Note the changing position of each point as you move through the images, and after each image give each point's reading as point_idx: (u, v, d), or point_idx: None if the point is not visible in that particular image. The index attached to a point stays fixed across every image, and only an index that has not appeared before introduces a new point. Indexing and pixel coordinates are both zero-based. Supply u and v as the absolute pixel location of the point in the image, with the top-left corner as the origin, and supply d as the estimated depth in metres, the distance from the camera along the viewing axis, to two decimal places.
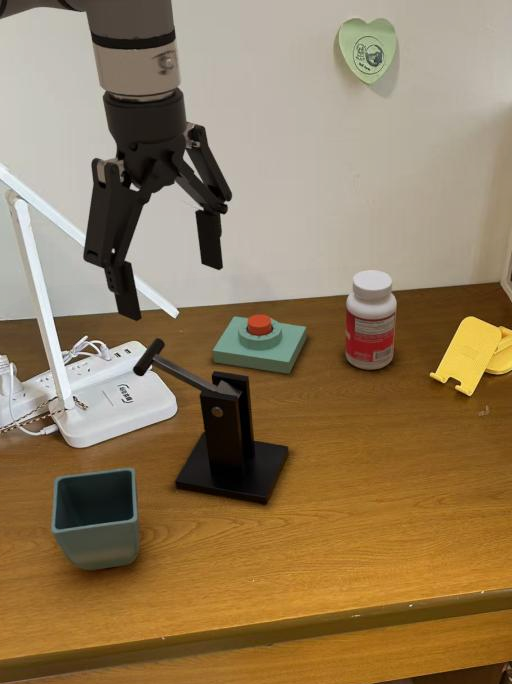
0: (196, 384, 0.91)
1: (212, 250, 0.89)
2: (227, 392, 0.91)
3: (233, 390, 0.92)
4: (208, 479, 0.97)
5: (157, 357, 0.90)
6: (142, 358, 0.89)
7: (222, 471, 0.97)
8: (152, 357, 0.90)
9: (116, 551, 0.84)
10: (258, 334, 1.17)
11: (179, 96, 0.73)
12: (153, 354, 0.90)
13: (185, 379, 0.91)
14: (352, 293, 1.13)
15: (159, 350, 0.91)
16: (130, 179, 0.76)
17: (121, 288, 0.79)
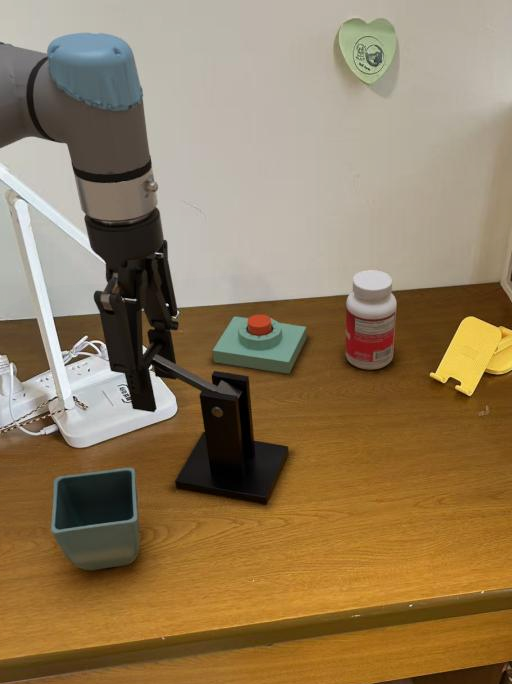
0: (196, 384, 0.91)
1: None
2: (227, 392, 0.91)
3: (233, 390, 0.92)
4: (208, 479, 0.97)
5: (157, 357, 0.90)
6: None
7: (222, 471, 0.97)
8: (152, 357, 0.90)
9: (116, 551, 0.84)
10: (258, 334, 1.17)
11: (157, 211, 0.79)
12: (153, 354, 0.90)
13: (185, 379, 0.91)
14: (352, 293, 1.13)
15: (159, 350, 0.91)
16: None
17: (141, 387, 0.88)
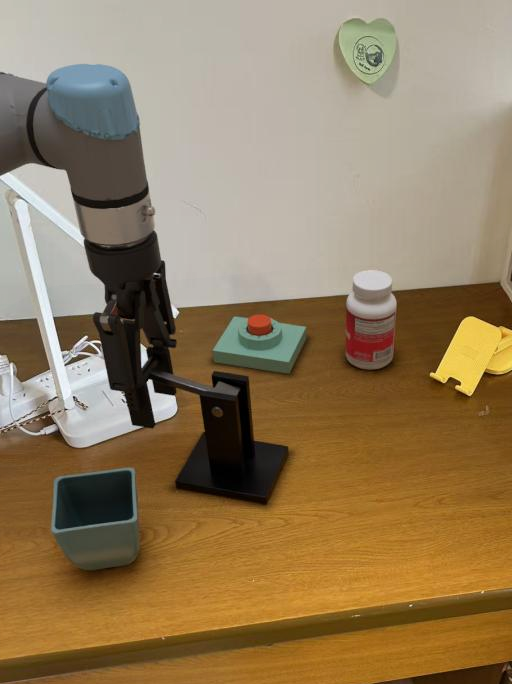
0: (194, 389, 0.92)
1: None
2: (225, 391, 0.91)
3: (231, 388, 0.92)
4: (208, 479, 0.97)
5: (153, 370, 0.92)
6: None
7: (222, 471, 0.97)
8: (148, 371, 0.92)
9: (116, 551, 0.84)
10: (258, 334, 1.17)
11: (154, 234, 0.81)
12: (149, 368, 0.92)
13: (183, 387, 0.92)
14: (352, 293, 1.13)
15: (155, 364, 0.93)
16: None
17: (140, 404, 0.90)
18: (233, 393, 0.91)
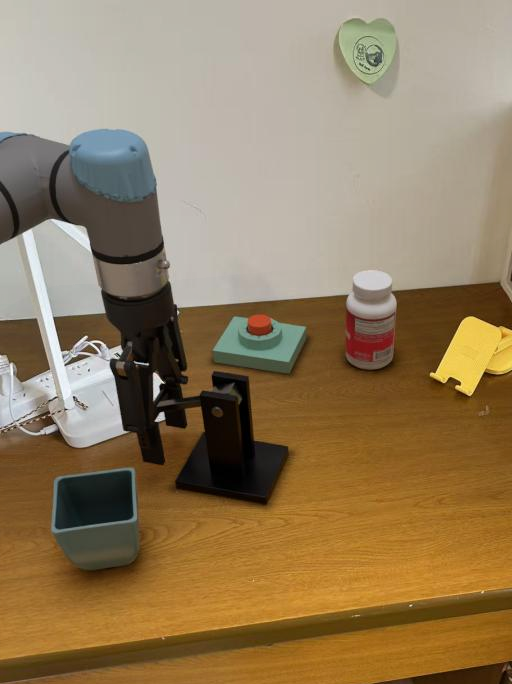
0: (197, 403, 0.93)
1: (178, 414, 1.00)
2: (220, 391, 0.91)
3: (225, 386, 0.92)
4: (208, 479, 0.97)
5: (160, 403, 0.95)
6: None
7: (222, 471, 0.97)
8: (155, 405, 0.95)
9: (116, 551, 0.84)
10: (258, 334, 1.17)
11: (169, 284, 0.85)
12: (156, 403, 0.95)
13: (188, 405, 0.94)
14: (352, 293, 1.13)
15: (163, 397, 0.96)
16: None
17: (151, 443, 0.94)
18: (227, 389, 0.91)
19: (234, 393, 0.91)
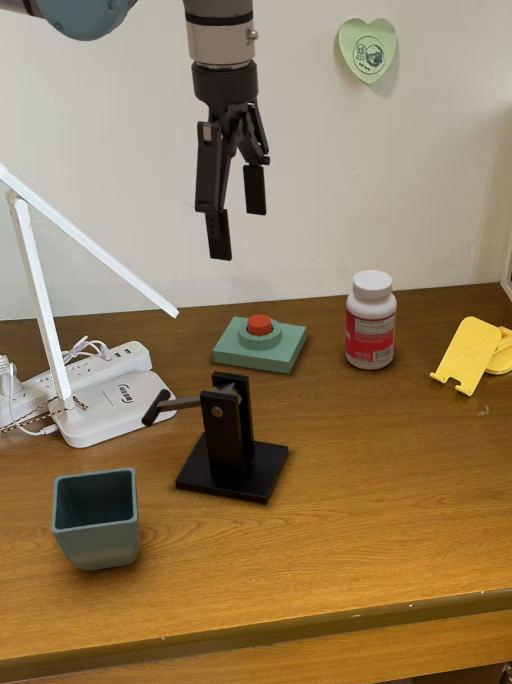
0: (197, 403, 0.93)
1: (259, 198, 1.06)
2: (220, 391, 0.91)
3: (225, 386, 0.92)
4: (208, 479, 0.97)
5: (160, 403, 0.95)
6: (147, 411, 0.95)
7: (222, 471, 0.97)
8: (155, 405, 0.95)
9: (116, 551, 0.84)
10: (258, 334, 1.17)
11: (254, 63, 0.89)
12: (156, 403, 0.95)
13: (188, 405, 0.94)
14: (352, 293, 1.13)
15: (163, 397, 0.96)
16: None
17: (220, 232, 0.94)
18: (227, 389, 0.91)
19: (234, 393, 0.91)
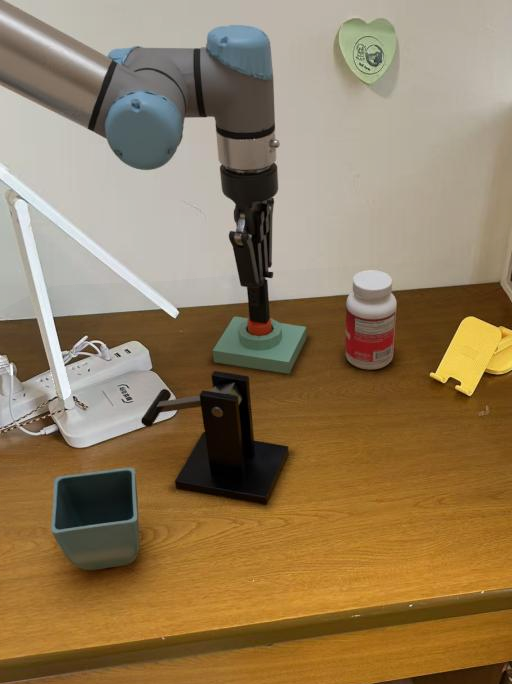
0: (197, 403, 0.93)
1: None
2: (220, 391, 0.91)
3: (225, 386, 0.92)
4: (208, 479, 0.97)
5: (160, 403, 0.95)
6: (147, 411, 0.95)
7: (222, 471, 0.97)
8: (155, 405, 0.95)
9: (116, 551, 0.84)
10: (258, 334, 1.17)
11: (275, 164, 1.01)
12: (156, 403, 0.95)
13: (188, 405, 0.94)
14: (352, 293, 1.13)
15: (163, 397, 0.96)
16: None
17: (259, 301, 1.13)
18: (227, 389, 0.91)
19: (234, 393, 0.91)
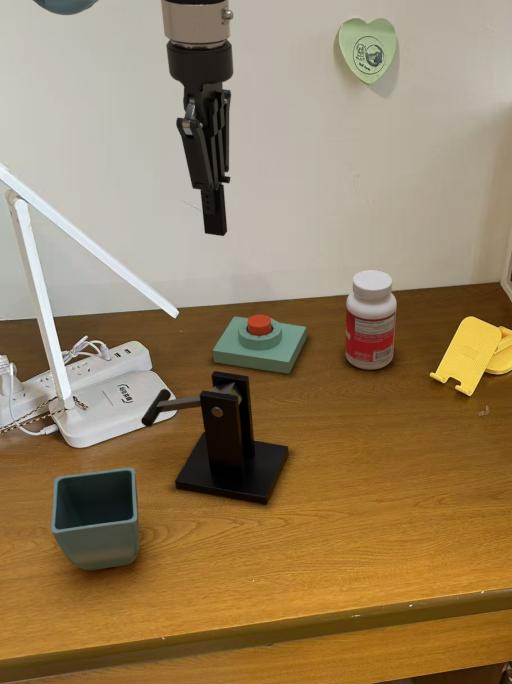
0: (197, 403, 0.93)
1: None
2: (220, 391, 0.91)
3: (225, 386, 0.92)
4: (208, 479, 0.97)
5: (160, 403, 0.95)
6: (147, 411, 0.95)
7: (222, 471, 0.97)
8: (155, 405, 0.95)
9: (116, 551, 0.84)
10: (258, 334, 1.17)
11: (229, 43, 0.90)
12: (156, 403, 0.95)
13: (188, 405, 0.94)
14: (352, 293, 1.13)
15: (163, 397, 0.96)
16: None
17: (215, 208, 1.01)
18: (227, 389, 0.91)
19: (234, 393, 0.91)
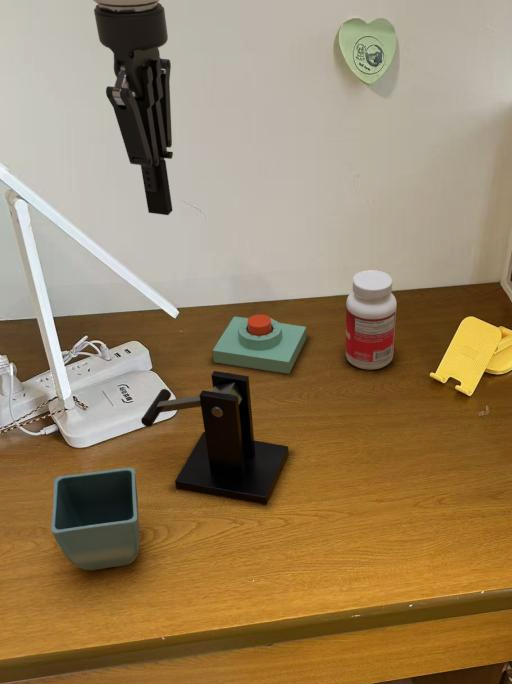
0: (197, 403, 0.93)
1: None
2: (220, 391, 0.91)
3: (225, 386, 0.92)
4: (208, 479, 0.97)
5: (160, 403, 0.95)
6: (147, 411, 0.95)
7: (222, 471, 0.97)
8: (155, 405, 0.95)
9: (116, 551, 0.84)
10: (258, 334, 1.17)
11: (162, 7, 0.85)
12: (156, 403, 0.95)
13: (188, 405, 0.94)
14: (352, 293, 1.13)
15: (163, 397, 0.96)
16: None
17: (156, 185, 0.96)
18: (227, 389, 0.91)
19: (234, 393, 0.91)
